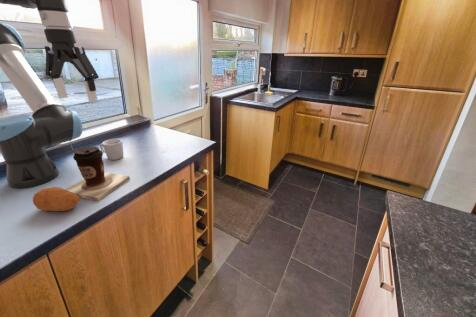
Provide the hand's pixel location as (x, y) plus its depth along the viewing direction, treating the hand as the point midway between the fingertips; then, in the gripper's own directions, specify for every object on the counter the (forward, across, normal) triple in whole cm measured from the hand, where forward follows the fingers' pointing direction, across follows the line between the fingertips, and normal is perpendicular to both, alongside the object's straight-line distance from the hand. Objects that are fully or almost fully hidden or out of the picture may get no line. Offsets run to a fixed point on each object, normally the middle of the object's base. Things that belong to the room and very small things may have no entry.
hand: (78, 99), depth 80 cm
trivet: (+29, +7, -7) cm, 31 cm away
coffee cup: (+28, +6, -7) cm, 30 cm away
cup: (+30, -7, +15) cm, 34 cm away
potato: (+30, +7, -21) cm, 37 cm away
